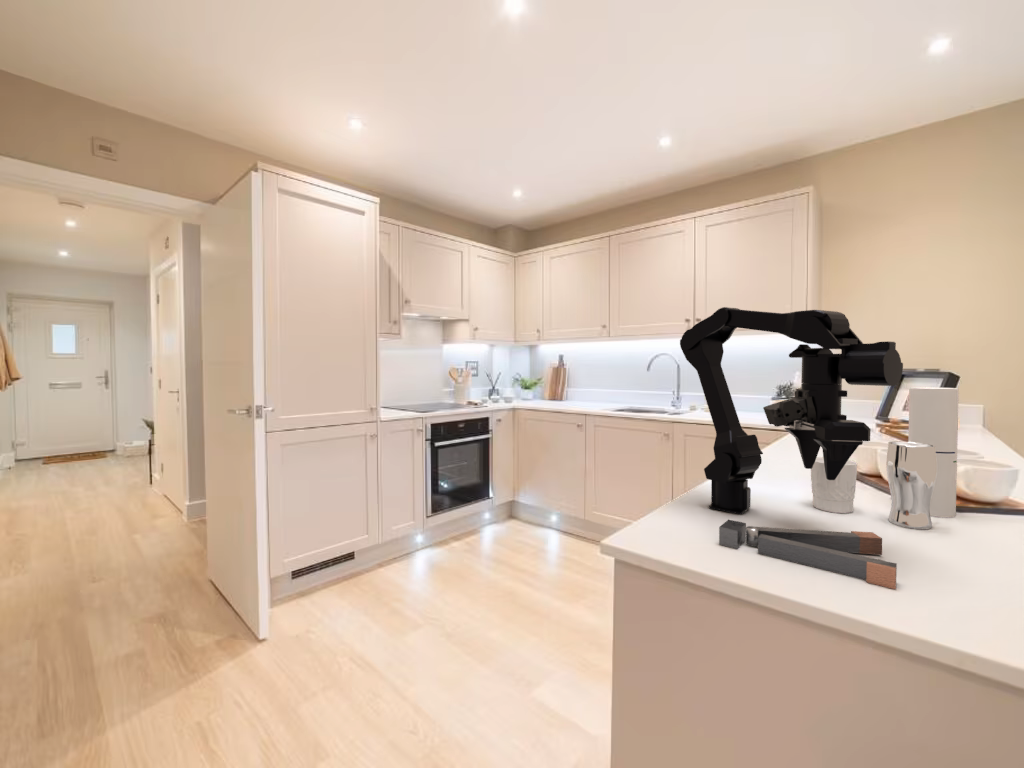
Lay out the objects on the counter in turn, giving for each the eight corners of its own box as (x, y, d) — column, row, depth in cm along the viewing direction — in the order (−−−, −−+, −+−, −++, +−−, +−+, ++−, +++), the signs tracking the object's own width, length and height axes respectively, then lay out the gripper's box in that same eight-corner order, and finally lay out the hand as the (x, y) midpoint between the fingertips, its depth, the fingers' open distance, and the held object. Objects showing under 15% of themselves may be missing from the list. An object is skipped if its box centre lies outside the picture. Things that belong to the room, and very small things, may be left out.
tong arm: (748, 545, 73) (748, 530, 73) (743, 539, 75) (743, 524, 75) (882, 555, 68) (882, 538, 68) (872, 548, 71) (872, 532, 71)
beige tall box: (897, 507, 93) (899, 387, 92) (928, 505, 93) (931, 387, 92) (932, 518, 85) (935, 389, 85) (966, 517, 86) (969, 388, 85)
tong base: (718, 545, 73) (718, 527, 73) (728, 536, 77) (728, 519, 77) (895, 589, 58) (895, 566, 58) (897, 575, 62) (897, 554, 62)
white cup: (843, 517, 87) (844, 466, 87) (801, 506, 94) (802, 459, 94) (864, 510, 90) (865, 462, 90) (822, 500, 97) (823, 455, 97)
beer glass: (945, 531, 78) (947, 447, 78) (900, 529, 80) (902, 446, 79) (918, 518, 85) (920, 441, 85) (877, 516, 87) (878, 440, 86)
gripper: (752, 381, 87) (750, 460, 87) (791, 386, 69) (789, 485, 69) (815, 382, 85) (813, 463, 85) (874, 386, 66) (870, 489, 67)
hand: (818, 473), depth 77 cm, fingers open, 8 cm apart
